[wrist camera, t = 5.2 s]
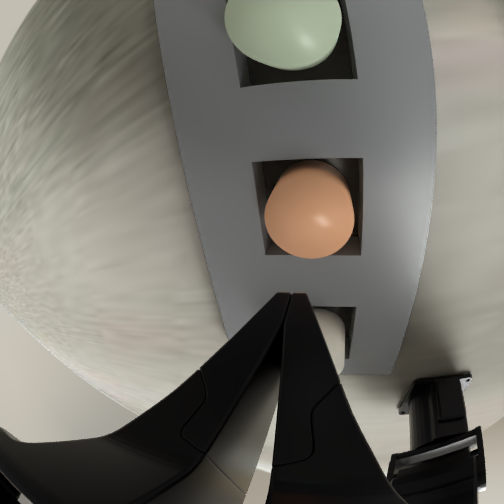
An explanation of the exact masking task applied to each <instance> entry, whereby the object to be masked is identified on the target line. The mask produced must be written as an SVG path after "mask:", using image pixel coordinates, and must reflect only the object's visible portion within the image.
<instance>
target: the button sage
mask: <svg viewBox="0 0 504 504" xmlns="http://www.w3.org/2000/svg"><path fill="white" fill-rule="evenodd" d="M224 20H225V27H226V31H227V33H228V35H229V37H230V39H231V41H232V42H233V43H234V45H235V46H236V47H237V48H238V49H239V50H240V51H241V52H242V53H244V54H245V55H246V56H248V57H250V58H252V59H254V60H256V61H258V62H261V63H264V64H266V65H269V66H272V67H274V68H278V69H282V70H288V71H298V70H305V69H309V68H311V67H314V66H316V65H318V64H320V63H321V62H323V61H324V60H325V59H326V58H327V57H329V55H330V54H331V53H332V51H333V50H334V48H335V46H336V43H337V40H338V36H339V32H340V28H341V22H342V16H341V9H340V6H339V3H338V1H337V0H228V2H227V5H226V9H225V16H224Z"/></svg>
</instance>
